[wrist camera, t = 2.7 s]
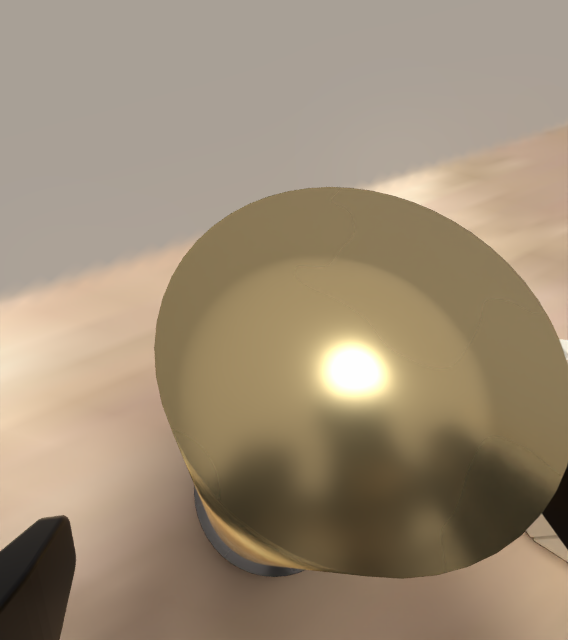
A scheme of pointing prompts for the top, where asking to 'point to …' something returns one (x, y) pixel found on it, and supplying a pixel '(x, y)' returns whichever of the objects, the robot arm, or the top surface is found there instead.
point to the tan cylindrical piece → (359, 388)
